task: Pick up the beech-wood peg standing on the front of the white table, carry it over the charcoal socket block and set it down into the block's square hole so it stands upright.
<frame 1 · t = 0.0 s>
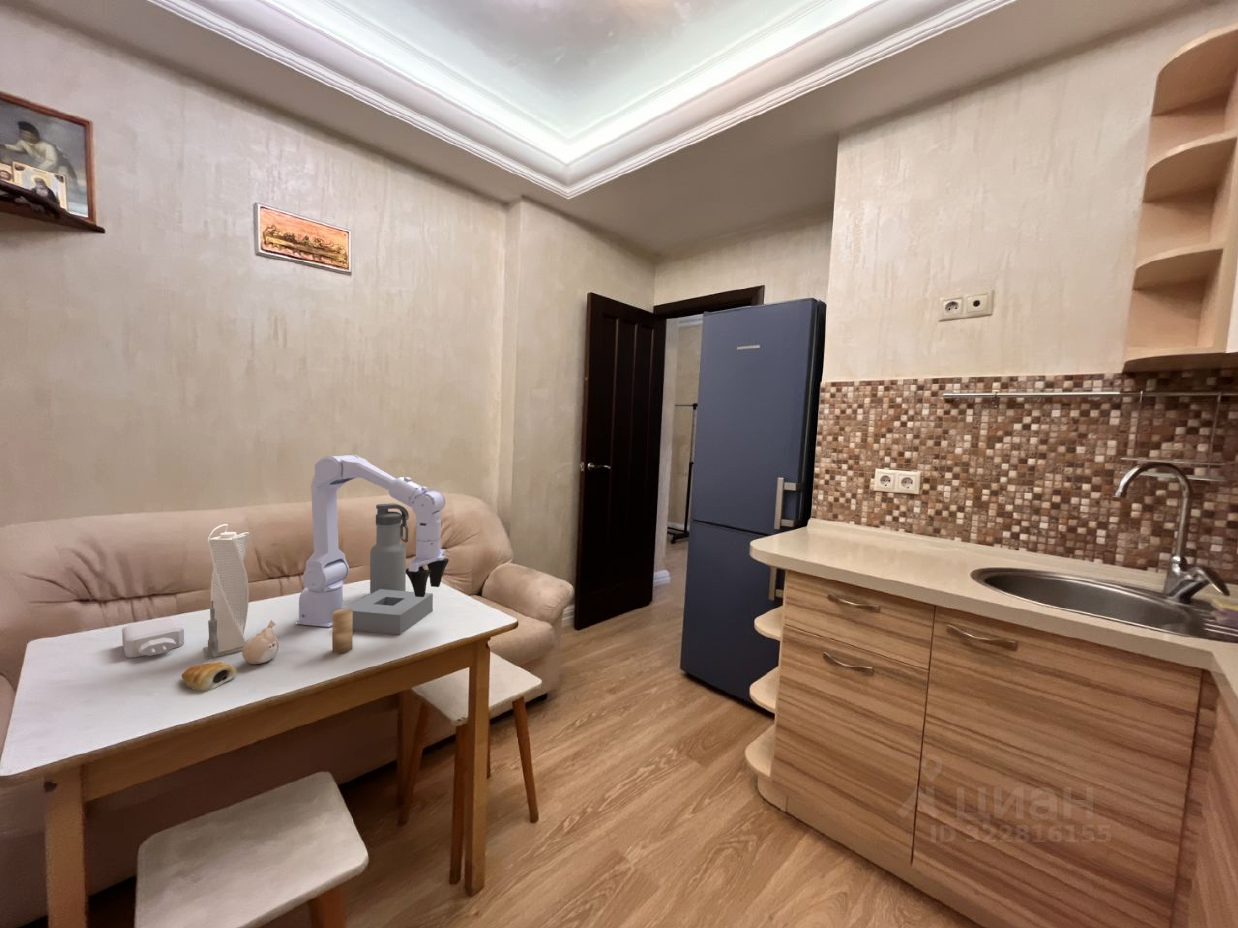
hand: (427, 591, 120), 10 cm above the table, tool pointing down, fingers open, 7 cm apart
beige rounded figure: (261, 662, 102), on the table
skyscraper: (228, 648, 107), on the table
charger: (155, 651, 105), on the table
water bottle: (388, 595, 144), on the table
socket block: (389, 619, 126), on the table
peg: (342, 649, 108), on the table
pastry: (207, 683, 93), on the table
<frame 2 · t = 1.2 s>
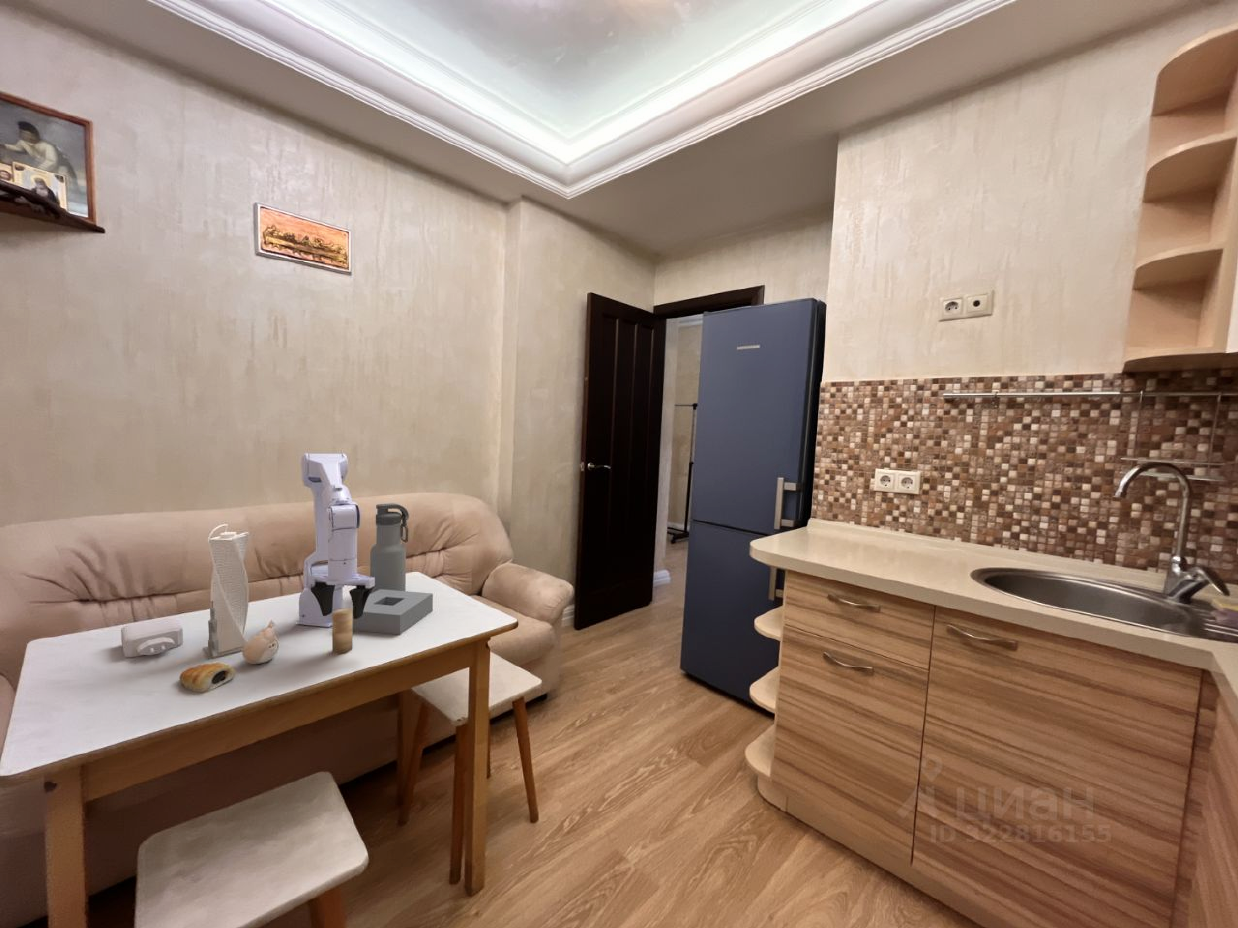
hand: (342, 615, 108), 8 cm above the table, tool pointing down, fingers open, 7 cm apart
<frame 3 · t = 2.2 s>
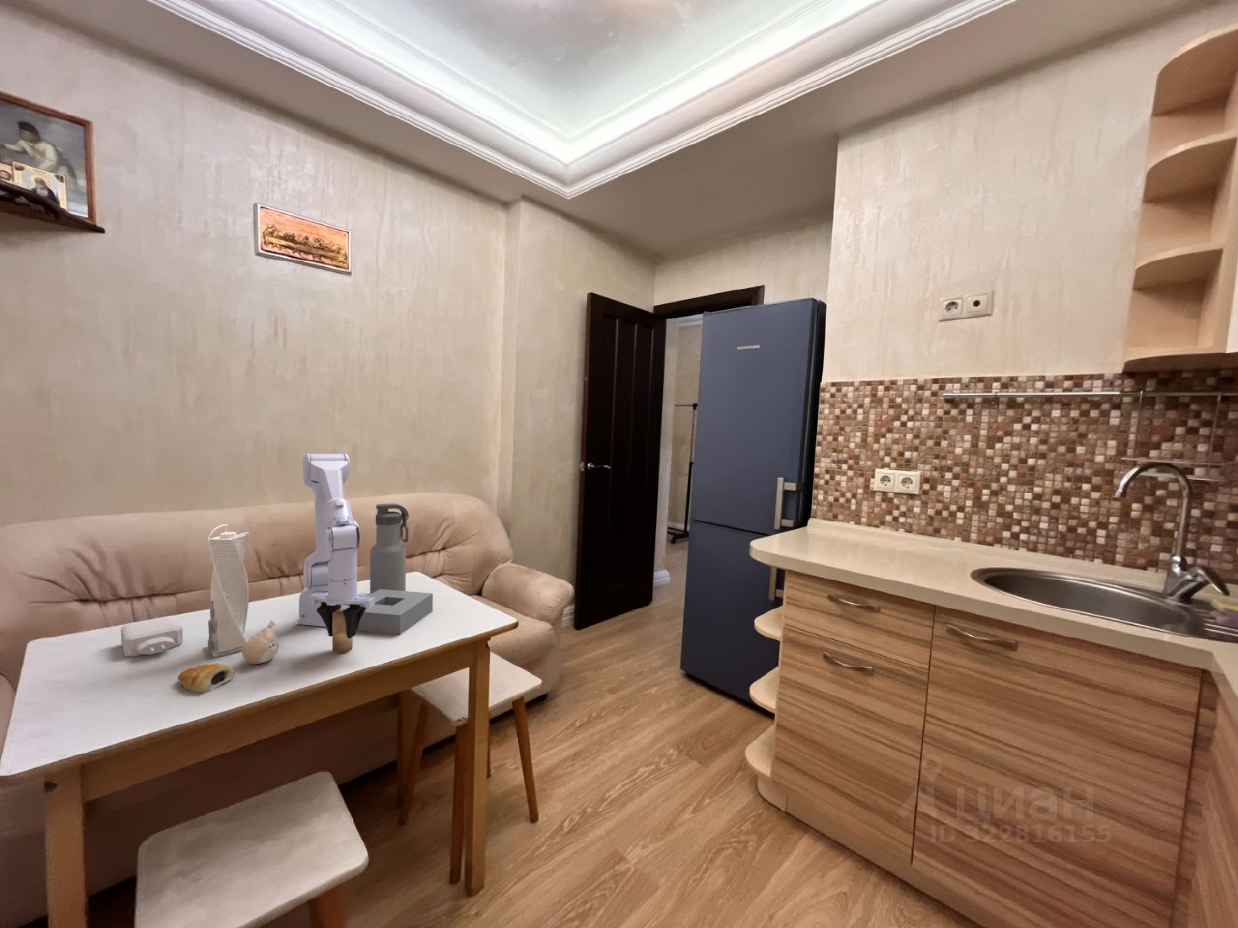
hand: (342, 635, 108), 3 cm above the table, tool pointing down, fingers closed on peg, 4 cm apart
peg: (342, 649, 108), on the table, touching gripper
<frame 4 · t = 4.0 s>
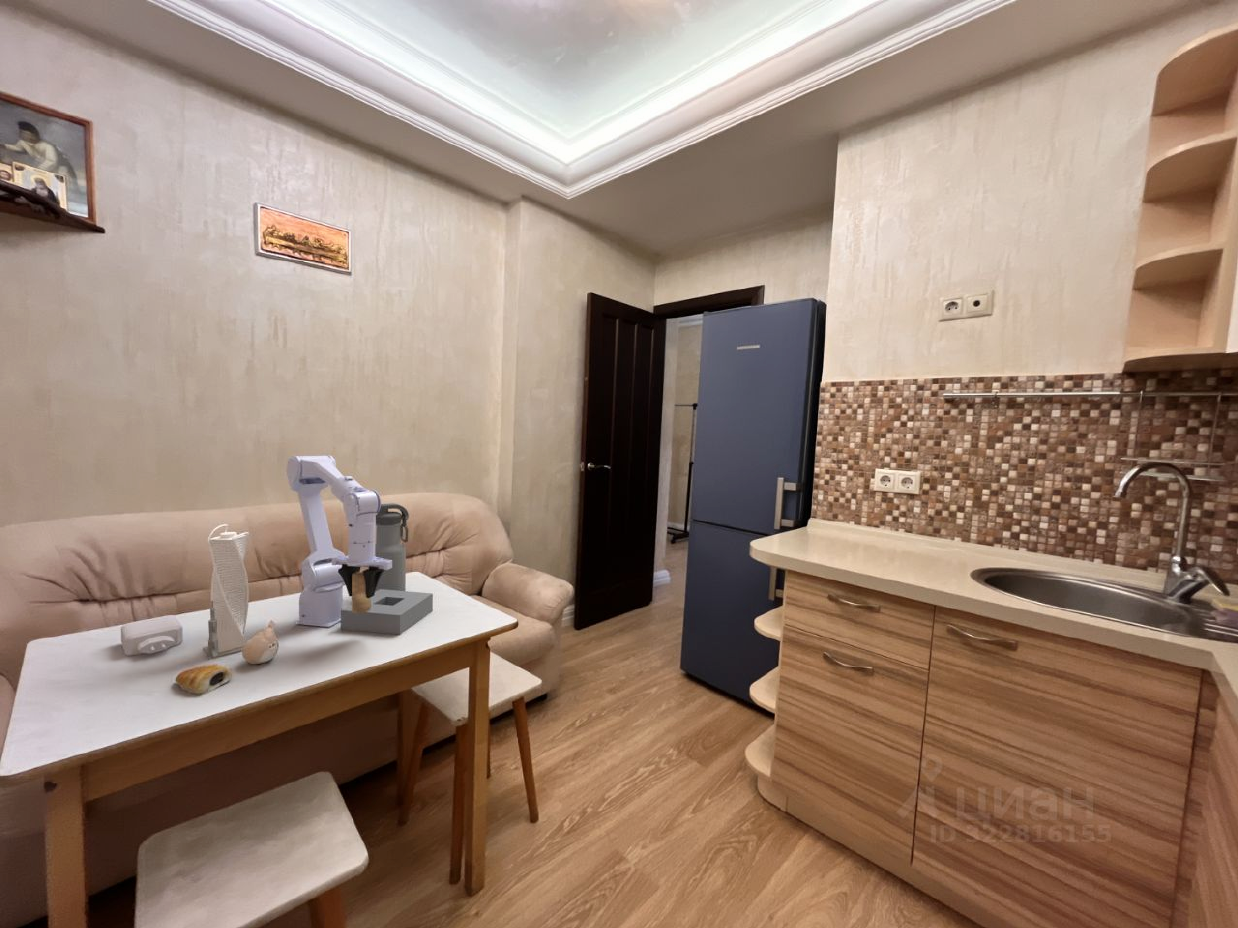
hand: (361, 595, 114), 10 cm above the table, tool pointing down, fingers closed on peg, 4 cm apart
peg: (361, 609, 115), point 7 cm above the table, touching gripper
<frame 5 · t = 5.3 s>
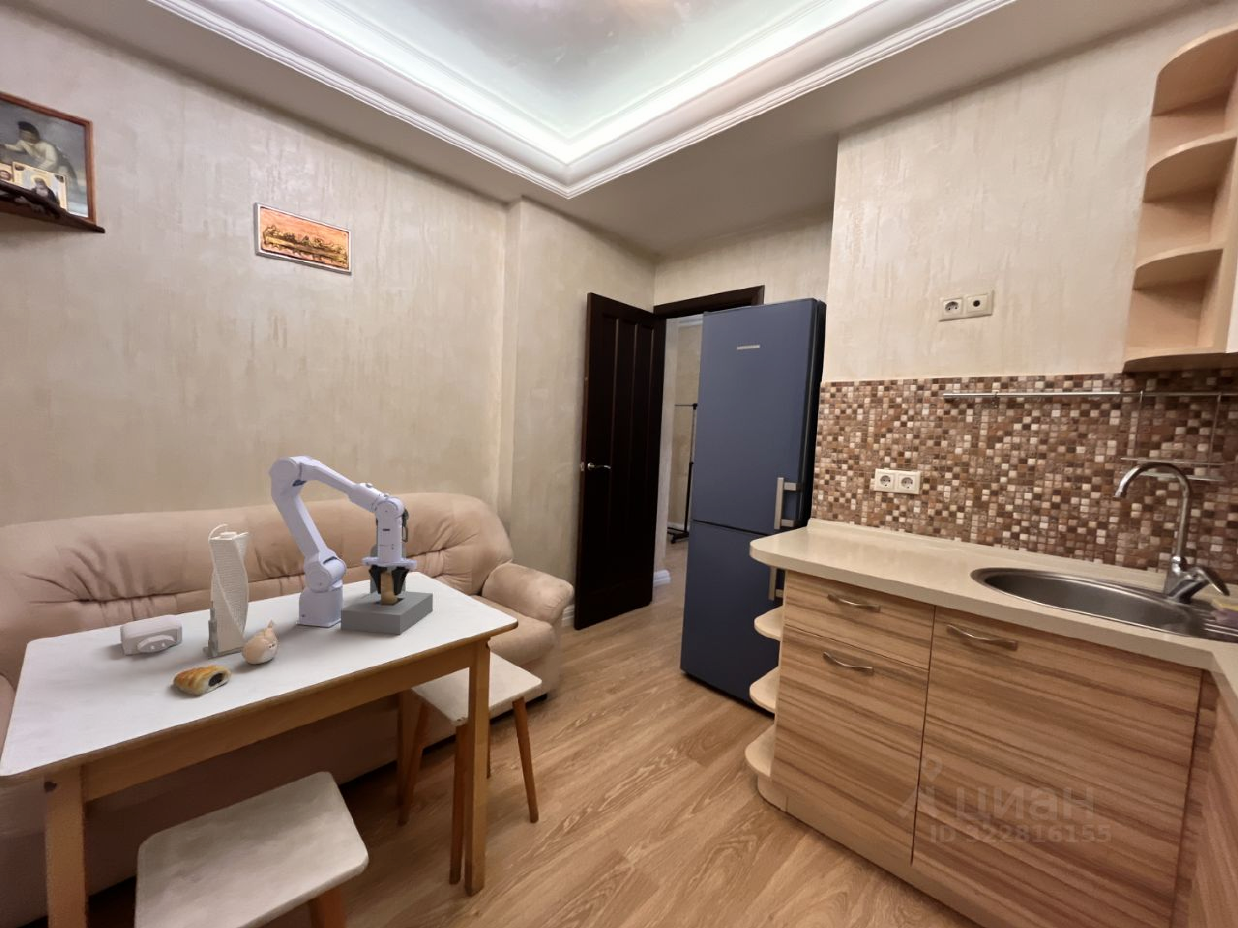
hand: (389, 593, 126), 7 cm above the table, tool pointing down, fingers closed on peg, 4 cm apart
peg: (389, 606, 126), point 4 cm above the table, touching gripper
when the fingers open (6 cm above the table, at t = 6.0 s): peg drops 2 cm, resting in socket block.
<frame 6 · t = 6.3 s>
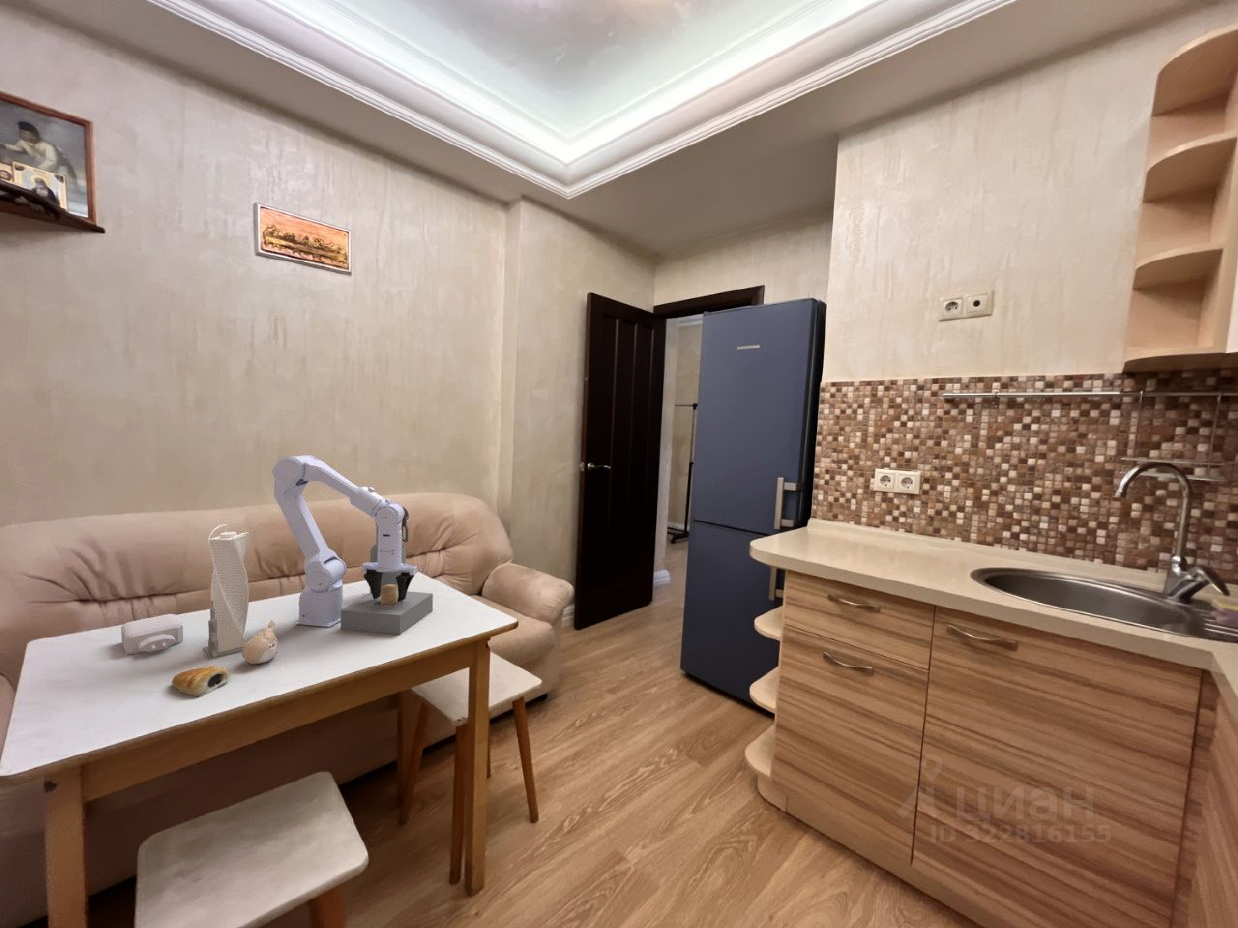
hand: (389, 598, 126), 6 cm above the table, tool pointing down, fingers open, 7 cm apart
peg: (389, 619, 126), resting in socket block
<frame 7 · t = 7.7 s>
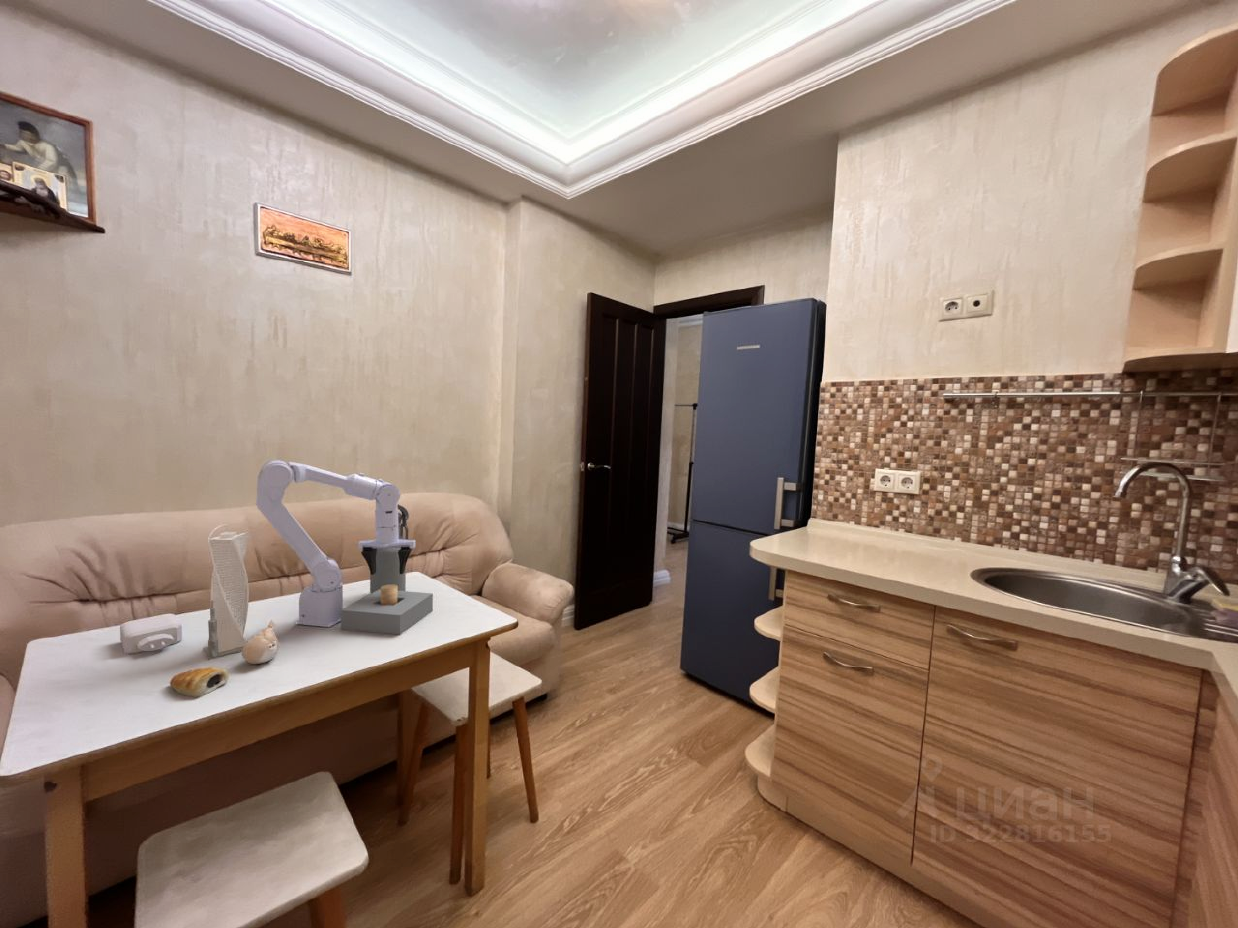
hand: (387, 573, 132), 10 cm above the table, tool pointing down, fingers open, 7 cm apart
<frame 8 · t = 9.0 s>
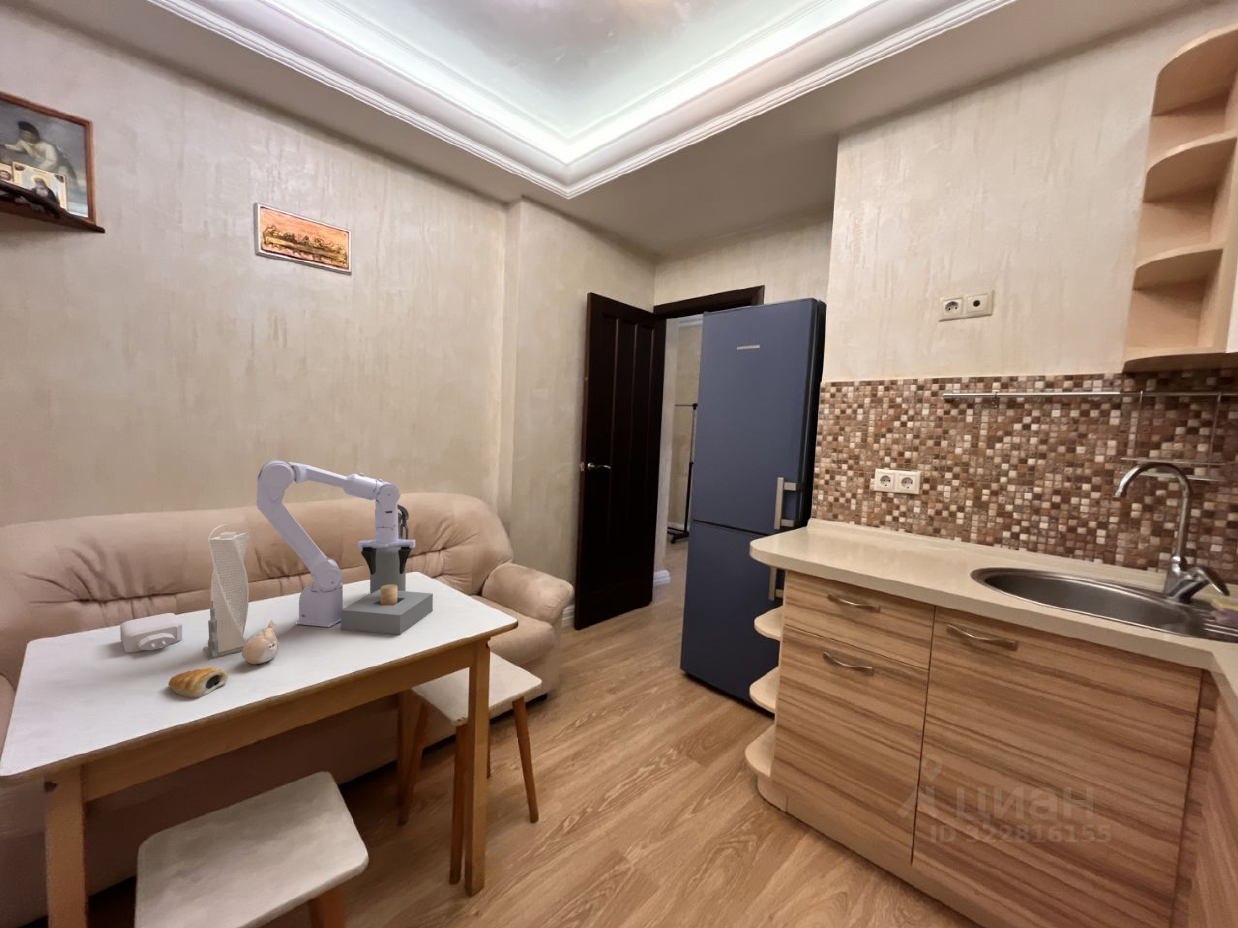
hand: (387, 573, 132), 10 cm above the table, tool pointing down, fingers open, 7 cm apart
at the end: peg 0.1 cm off-centre on the socket block, point 0.0 cm above the socket block's base; peg tilted 0°; the gripper is holding nothing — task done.
